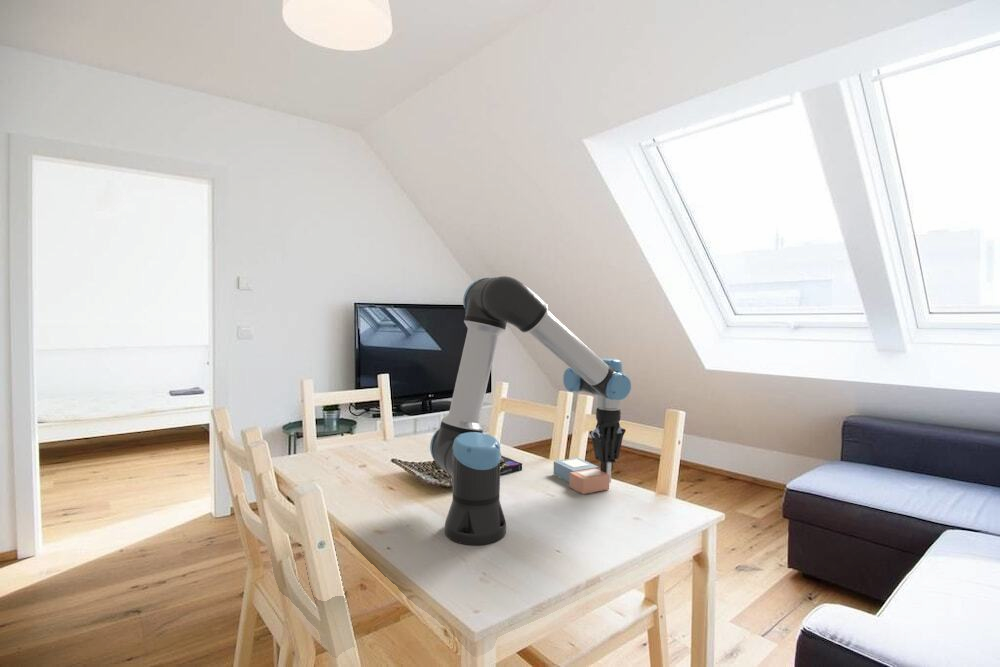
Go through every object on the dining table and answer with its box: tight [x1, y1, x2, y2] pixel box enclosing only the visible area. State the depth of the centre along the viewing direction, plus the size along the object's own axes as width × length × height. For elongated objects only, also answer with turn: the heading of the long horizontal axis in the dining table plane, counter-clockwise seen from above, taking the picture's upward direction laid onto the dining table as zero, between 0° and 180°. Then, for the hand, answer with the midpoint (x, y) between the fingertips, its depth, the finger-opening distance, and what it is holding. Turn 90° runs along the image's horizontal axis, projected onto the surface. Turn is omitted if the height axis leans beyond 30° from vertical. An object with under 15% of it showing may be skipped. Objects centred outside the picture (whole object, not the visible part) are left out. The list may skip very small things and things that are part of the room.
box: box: [500, 455, 523, 477], centre depth 171 cm, size 14×4×20 cm
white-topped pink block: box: [568, 468, 610, 495], centre depth 155 cm, size 7×10×5 cm
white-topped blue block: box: [552, 457, 601, 483], centre depth 165 cm, size 12×10×5 cm
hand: (606, 481), depth 158 cm, fingers closed
